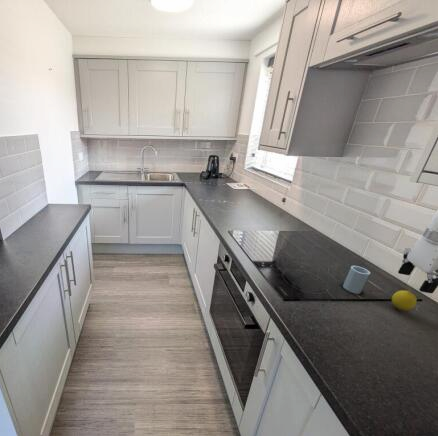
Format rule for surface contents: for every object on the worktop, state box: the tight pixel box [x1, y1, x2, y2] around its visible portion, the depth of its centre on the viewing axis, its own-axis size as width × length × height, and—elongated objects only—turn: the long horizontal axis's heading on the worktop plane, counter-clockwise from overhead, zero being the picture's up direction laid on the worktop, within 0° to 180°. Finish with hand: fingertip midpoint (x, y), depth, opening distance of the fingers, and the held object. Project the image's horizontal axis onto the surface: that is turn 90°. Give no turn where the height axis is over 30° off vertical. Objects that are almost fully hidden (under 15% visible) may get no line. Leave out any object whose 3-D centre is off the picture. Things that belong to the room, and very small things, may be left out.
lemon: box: [391, 290, 417, 311], centre depth 80 cm, size 6×6×8 cm
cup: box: [342, 265, 371, 295], centre depth 89 cm, size 6×6×9 cm
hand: (413, 282), depth 77 cm, fingers open, 9 cm apart
